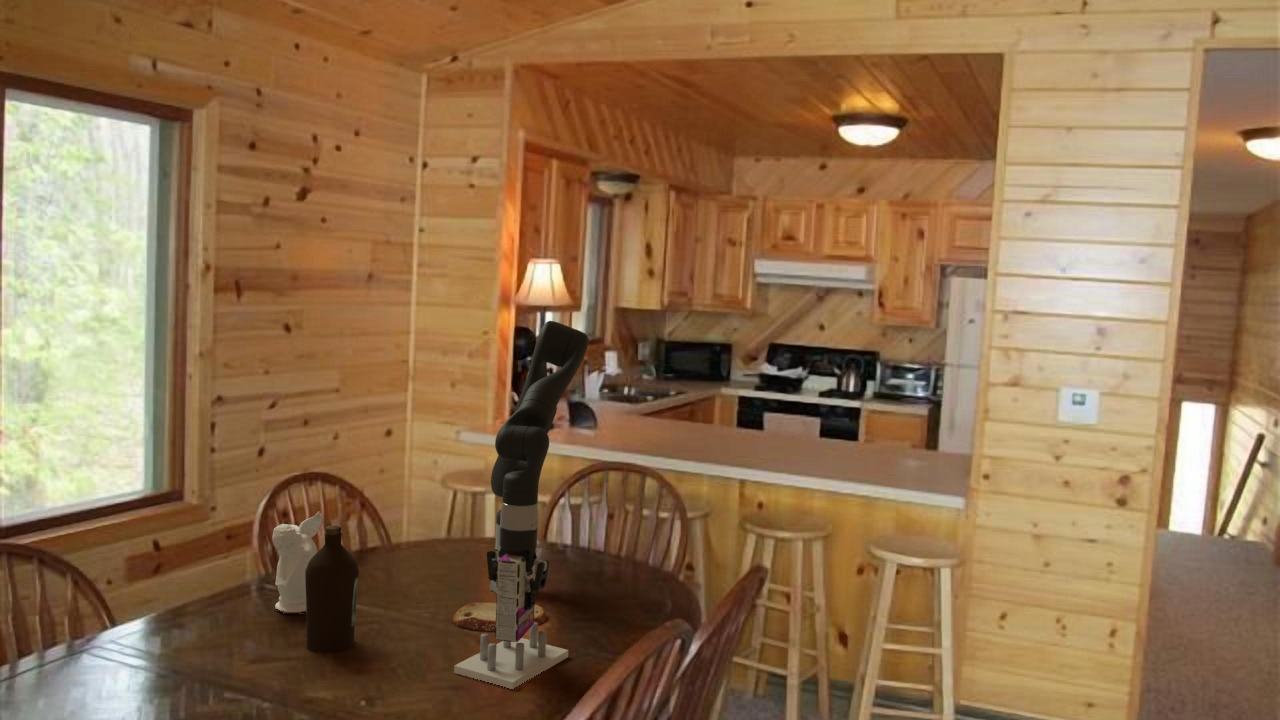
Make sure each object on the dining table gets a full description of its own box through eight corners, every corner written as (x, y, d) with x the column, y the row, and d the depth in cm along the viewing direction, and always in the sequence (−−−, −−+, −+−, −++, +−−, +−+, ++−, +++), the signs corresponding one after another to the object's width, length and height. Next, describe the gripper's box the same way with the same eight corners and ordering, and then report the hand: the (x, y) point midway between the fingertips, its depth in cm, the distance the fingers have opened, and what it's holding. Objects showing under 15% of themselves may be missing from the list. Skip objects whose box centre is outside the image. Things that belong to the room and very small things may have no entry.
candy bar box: (511, 621, 208) (514, 544, 206) (534, 624, 207) (538, 547, 205) (493, 640, 197) (496, 559, 196) (517, 643, 196) (520, 562, 195)
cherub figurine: (278, 619, 221) (278, 522, 219) (257, 603, 231) (257, 510, 228) (330, 608, 229) (331, 514, 227) (308, 593, 239) (309, 503, 236)
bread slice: (553, 617, 232) (553, 601, 232) (511, 641, 216) (512, 624, 216) (488, 603, 240) (488, 588, 239) (443, 625, 223) (444, 609, 223)
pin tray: (454, 672, 197) (455, 641, 196) (512, 642, 214) (514, 613, 214) (512, 689, 190) (513, 656, 190) (568, 657, 208) (569, 626, 207)
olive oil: (307, 656, 201) (310, 535, 199) (300, 638, 211) (303, 522, 208) (361, 650, 206) (364, 531, 204) (352, 632, 215) (355, 519, 213)
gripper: (478, 522, 200) (475, 603, 201) (538, 534, 193) (534, 618, 195) (500, 514, 207) (497, 594, 208) (559, 526, 200) (555, 607, 201)
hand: (515, 605), depth 201 cm, fingers closed on candy bar box, 5 cm apart
